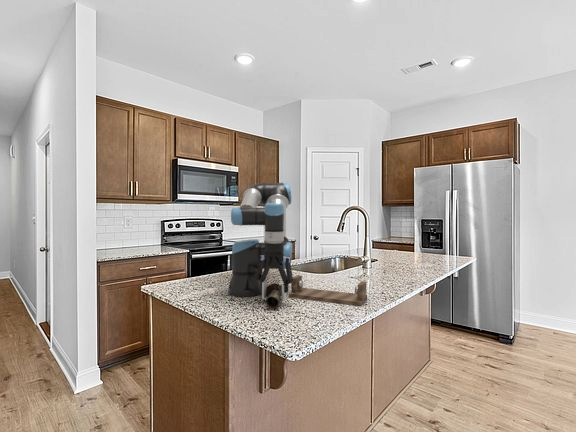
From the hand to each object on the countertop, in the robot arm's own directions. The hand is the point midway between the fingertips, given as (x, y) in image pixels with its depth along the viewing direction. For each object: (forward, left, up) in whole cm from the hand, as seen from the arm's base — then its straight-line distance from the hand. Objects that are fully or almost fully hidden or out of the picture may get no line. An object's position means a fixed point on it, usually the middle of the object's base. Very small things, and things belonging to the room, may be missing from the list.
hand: (274, 299), depth 129 cm
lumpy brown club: (0, -1, -1) cm, 1 cm away
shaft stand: (+17, +16, -1) cm, 23 cm away
